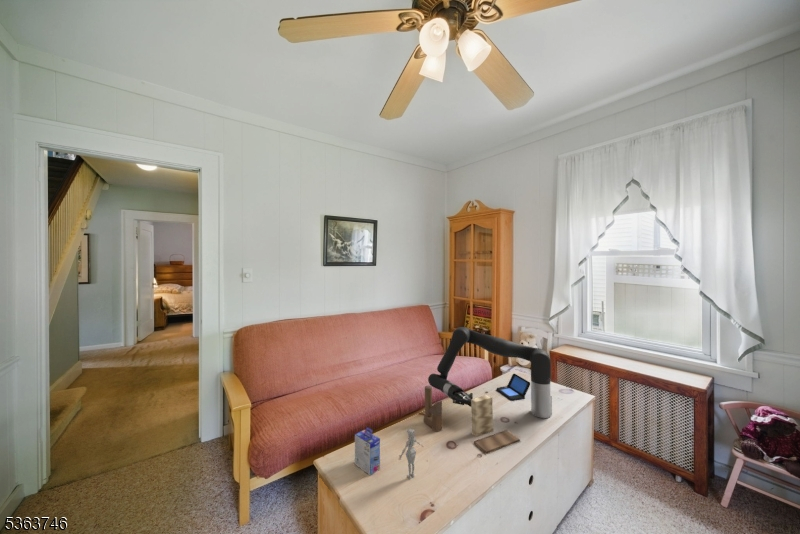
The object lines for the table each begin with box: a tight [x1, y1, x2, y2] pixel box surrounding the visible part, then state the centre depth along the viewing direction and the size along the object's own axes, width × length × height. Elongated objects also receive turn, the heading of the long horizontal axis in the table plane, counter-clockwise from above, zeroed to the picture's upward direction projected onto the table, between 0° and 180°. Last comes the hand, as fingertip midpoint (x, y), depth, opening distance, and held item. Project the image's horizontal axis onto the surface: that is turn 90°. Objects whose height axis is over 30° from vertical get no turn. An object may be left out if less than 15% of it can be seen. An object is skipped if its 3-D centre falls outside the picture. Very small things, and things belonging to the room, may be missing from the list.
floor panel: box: [473, 429, 521, 455], centre depth 129 cm, size 19×8×1 cm, turn 115°
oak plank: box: [470, 394, 494, 438], centre depth 137 cm, size 10×3×16 cm, turn 115°
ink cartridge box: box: [354, 427, 381, 476], centre depth 115 cm, size 10×6×14 cm, turn 47°
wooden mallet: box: [423, 385, 443, 432], centre depth 143 cm, size 4×11×18 cm, turn 30°
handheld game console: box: [496, 373, 531, 401], centre depth 176 cm, size 16×13×9 cm
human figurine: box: [398, 428, 424, 480], centre depth 109 cm, size 12×4×18 cm, turn 128°
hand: (473, 405), depth 142 cm, fingers closed
